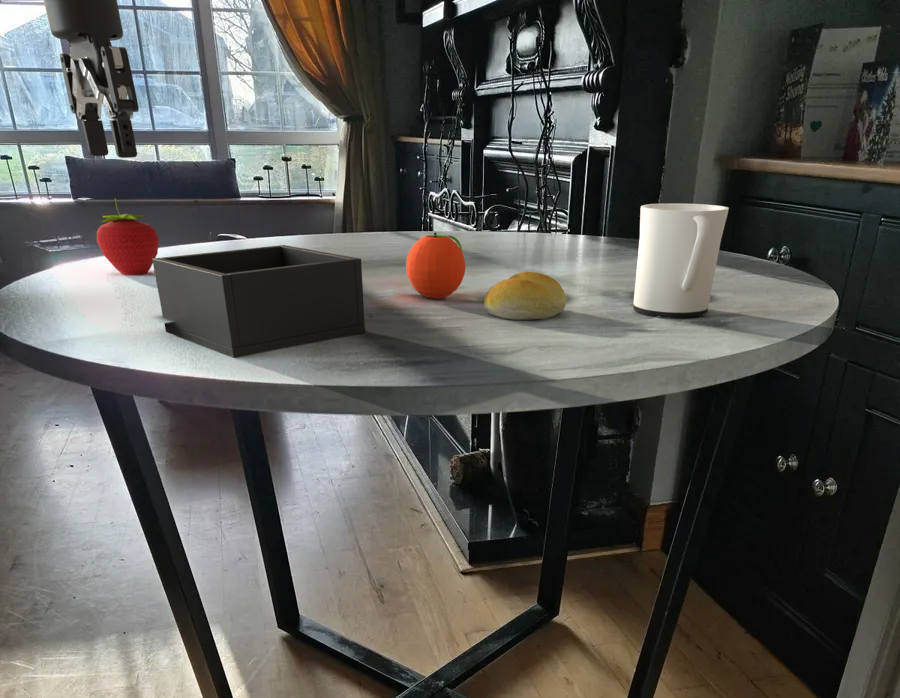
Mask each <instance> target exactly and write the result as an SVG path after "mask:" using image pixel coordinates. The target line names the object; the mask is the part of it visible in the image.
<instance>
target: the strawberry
mask: <svg viewBox="0 0 900 698" xmlns="http://www.w3.org/2000/svg"><path fill="white" fill-rule="evenodd" d="M114 201H115V202H114V203H115V208H116V211H117V214H110V215H103V216H102V218H104V220H101V221H100V223H101V225H100V226H99V227H98V229H97V231H96V242H97V245H98V247H99V249H100V250H101V252H102V255H103V256H104V257H105V259H107V261H109V263H110V264H111V265H112V266H113V267H114V268H115V269H116V271H118V272H119V273H120V275H124V276H133V275H134V276H140V275H147V274H148V272H149V271H150V270H151V269H152V266H153V261H152V259H153V258H157V256H158V252H159V243H160V239H159V236H158V233H157V231H156V229H154V228H153V226H152V225H150V224H148V223H145V222H141V221H139V220H138V219H141V218H145V215H143V214H141V215H140V214H130V213H123V214H120V211H119V208H118V203H117V198H114ZM102 223H103V224H102ZM104 223H105V224H104Z"/></svg>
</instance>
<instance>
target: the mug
mask: <svg viewBox="0 0 900 698" xmlns="http://www.w3.org/2000/svg"><path fill="white" fill-rule="evenodd" d="M729 209H730V207H728V206H723V205H716V204H705V203H649V204H642V205H641V206H640V213H639V214H640V215H639V218H640V219H639V241H638V253H637V263H636V273H635V281H634V294H633V303H632V304H633V306H632V307H633V310H634V311H635V312H636V311H637V312H636V313H638V312H639V313H638V314H641V313H643V314H642V315H644V314H648V315H647V316H649V315H653V316H652V317H655V316H660V317H659V318H664V317H670V318H669V319H684V318H683V317H692V318H695V317H694V316H699V317H701V316H700V315H702V316H704V315H706V314H707V313H708V310H709V305H710V300H711V294H712V289H713V283H714V278H715V274H716V270H717V269H716V268H717V262H718V257H719V252H720V247H721V242H722V238H723V234H724V230H725V226H726V222H727V218H728V214H729ZM706 312H707V313H706ZM705 313H706V314H705ZM703 314H704V315H703Z"/></svg>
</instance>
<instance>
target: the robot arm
mask: <svg viewBox="0 0 900 698" xmlns="http://www.w3.org/2000/svg"><path fill="white" fill-rule="evenodd" d="M43 3H44V8H45V12H46V16H47V20H48V25H49V30H50V33H51V34H52V36H53V37H54V38H56V39H59V40H66V41H67V42H68V43H69V53H60V54H59V61H60V64H61V70H62V74H63V75H62V76H63V80H64V84H65V88H66V94H67V97H68V98H67V100H68V103H69V109H70V112H71V113H72V114H76V116H77V117H78V119H79V120H81V125H82V129H83V134H84V138H85V142H86V147H87V152H88V155H90V156H92V157H104V156H105V157H106V156H108V155H109V148H108V143H107V137H106V133H105V128H104V124H103V119H102V106H103V107H104V108H105V111H106V113H107V115H108V117H109V124H110V131H111V135H112V139H113V144H114V150H115V154H116V156H117V157H118V158H120V159H129V158H132V159H133V158H137V156H138V150H137V145H136V139H135V134H134V129H133V124H132V119H134V113H138V112H139V110H140V109H139V108H140V107H139V102H138V96H137V91H136V88H135V82H134V77H133V72H132V68H131V63H130V59H129V54H128V50H127V48H126V47H124V46H123V47H122V46H113V45H112V42H111V41H113V42H114V41H119V40H121V39H123V36H124V32H123V25H122V20H121V19H122V18H121V15H120V8H119V5H118V4H119V3H118V0H43ZM101 119H102V120H101Z"/></svg>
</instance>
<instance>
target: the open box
mask: <svg viewBox="0 0 900 698" xmlns="http://www.w3.org/2000/svg"><path fill="white" fill-rule="evenodd" d="M152 261H153V264H152V266H153V272H154V277H155V281H156V282H155V283H156V287H157V292H158V298H159V305H160V308H161V314H162V318H163V319H165V320H168V321H170V322H164V323H163V324H164V330H165V332H166V334H170V335H172V336H175V337H178V338H180V339H183V340H186V341H189V342H192V343H194V344H197V345H199V346H201V347H205V348H207V349H210V350H212V351H215V352H218V353H220V354H223V355H227V356H229V357H232V358H238V357H245V356H249V355H254V354H255V355H256V354H259V353H265V352H270V351H275V350H276V351H277V350H281V349H285V348H290V347H291V348H292V347H297V346H301V345H306V344H312V343H317V342H322V341H327V340H333V339H337V338H343V337H344V338H345V337H348V336H354V335H359V334H365V333H366V325H365V323H366V321H365V320H366V319H365V305H364V304H365V303H364V287H363V270H362V269H363V268H362V258H360V257H354V256H349V255H343V254H337V253H331V252H325V251H319V250H315V249H308V248H303V247H298V246H291V245H287V244H280V245H269V246H260V247H251V248H241V249H232V250H220V251H212V252H202V253H201V252H200V253H194V254H193V253H192V254H184V255H183V254H182V255H174V256H163V257H156V258H153V259H152Z"/></svg>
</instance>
